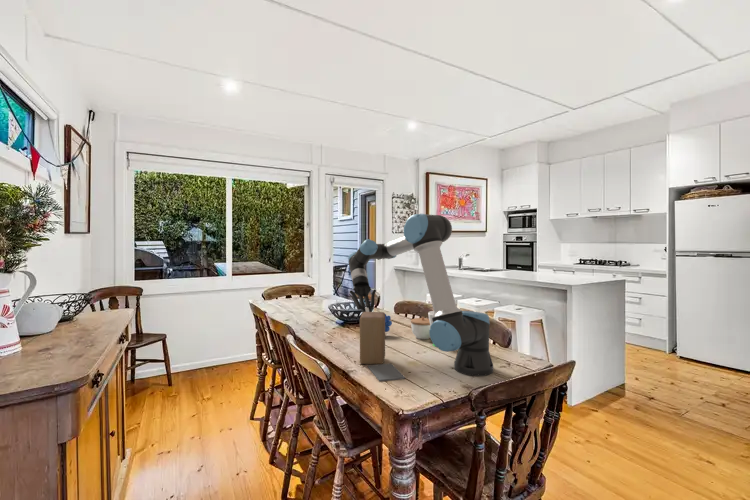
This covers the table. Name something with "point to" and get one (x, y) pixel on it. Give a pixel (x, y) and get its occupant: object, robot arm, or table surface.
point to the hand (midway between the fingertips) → (368, 321)
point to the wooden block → (372, 338)
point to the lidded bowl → (421, 327)
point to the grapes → (387, 323)
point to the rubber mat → (385, 372)
